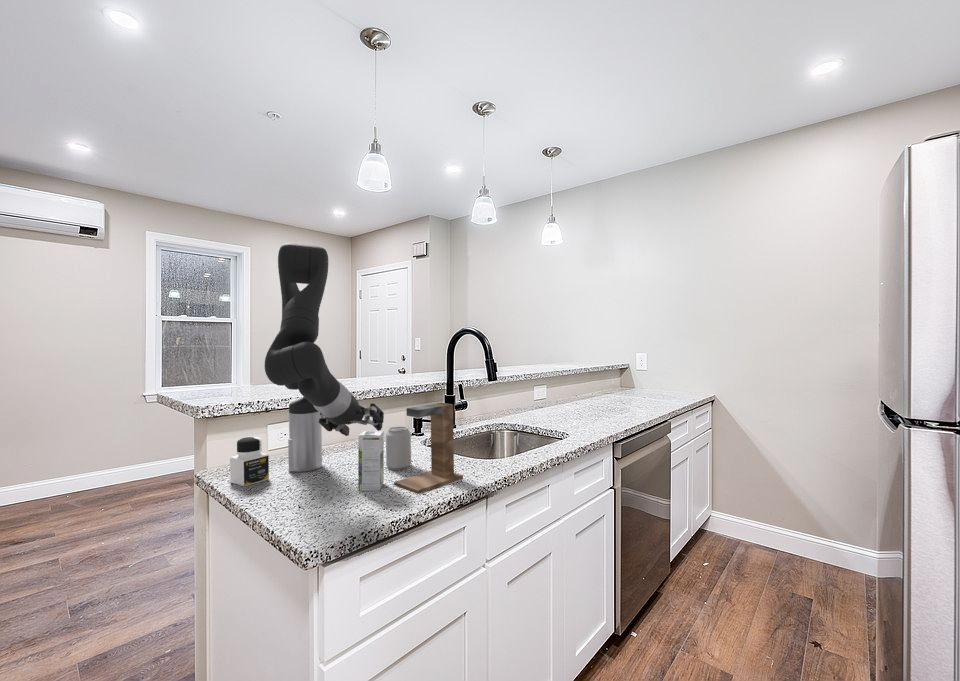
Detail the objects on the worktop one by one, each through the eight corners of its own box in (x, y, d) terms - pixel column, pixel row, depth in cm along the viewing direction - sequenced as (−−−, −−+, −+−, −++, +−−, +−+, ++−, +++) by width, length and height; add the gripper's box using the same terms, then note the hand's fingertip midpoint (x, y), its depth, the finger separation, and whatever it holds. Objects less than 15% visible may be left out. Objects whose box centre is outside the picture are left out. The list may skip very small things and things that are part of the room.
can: (405, 471, 127) (405, 430, 127) (382, 470, 129) (381, 430, 129) (414, 464, 135) (414, 425, 135) (392, 462, 136) (391, 425, 136)
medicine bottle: (244, 487, 115) (243, 442, 115) (229, 482, 119) (229, 439, 119) (269, 479, 122) (268, 436, 121) (254, 475, 125) (254, 434, 125)
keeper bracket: (418, 493, 109) (417, 412, 109) (394, 484, 116) (393, 408, 116) (462, 477, 121) (461, 404, 121) (438, 470, 127) (437, 401, 127)
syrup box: (362, 484, 116) (361, 430, 116) (384, 483, 117) (383, 430, 117) (358, 491, 111) (357, 435, 111) (381, 490, 111) (380, 434, 111)
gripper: (366, 381, 97) (391, 411, 110) (306, 391, 99) (338, 420, 112) (363, 411, 93) (390, 439, 106) (301, 421, 94) (335, 448, 108)
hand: (363, 429), depth 109 cm, fingers open, 8 cm apart
